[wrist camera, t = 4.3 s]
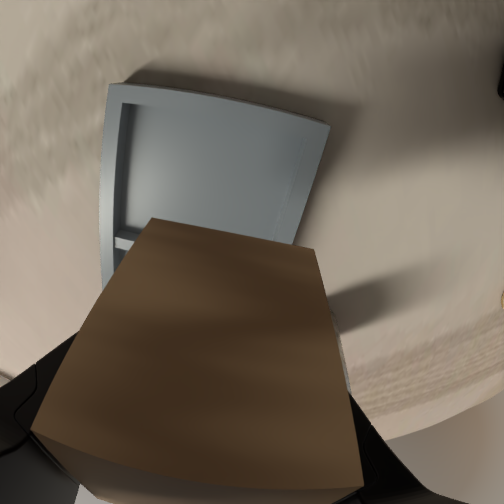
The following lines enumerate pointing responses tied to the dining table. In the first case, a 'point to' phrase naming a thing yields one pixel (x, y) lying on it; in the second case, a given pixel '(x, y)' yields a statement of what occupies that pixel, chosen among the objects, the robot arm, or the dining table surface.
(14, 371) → the dining table surface
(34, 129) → the dining table surface
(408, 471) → the robot arm
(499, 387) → the dining table surface
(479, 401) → the dining table surface
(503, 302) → the sprinkles bottle
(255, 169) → the tray
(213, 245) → the walnut block
